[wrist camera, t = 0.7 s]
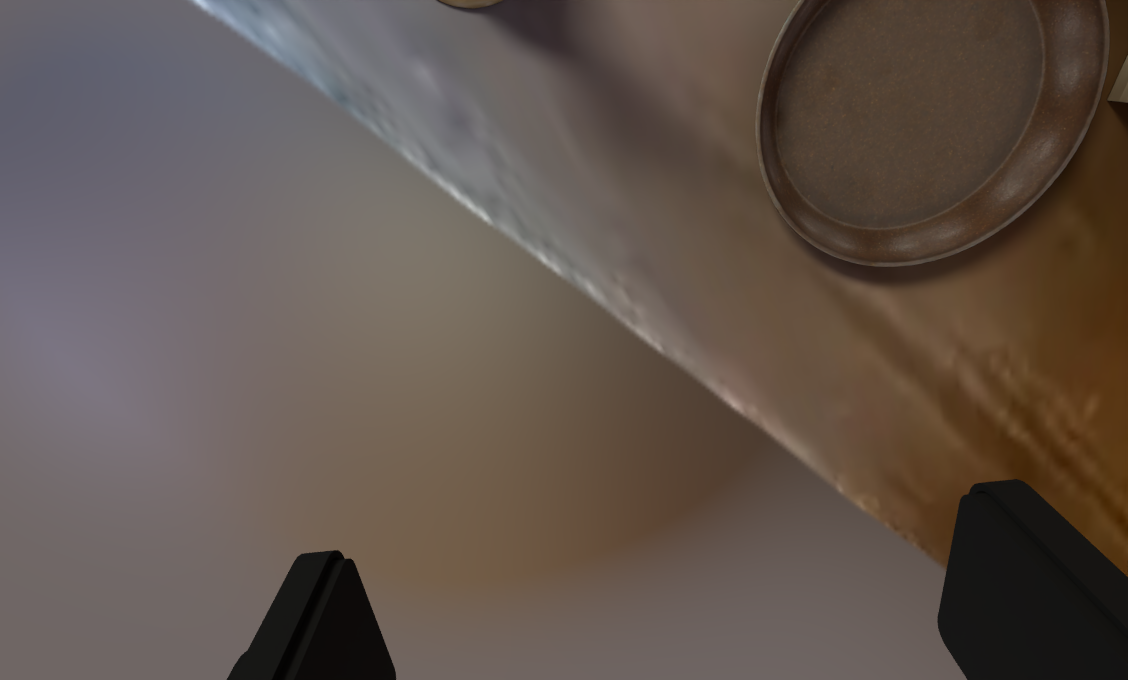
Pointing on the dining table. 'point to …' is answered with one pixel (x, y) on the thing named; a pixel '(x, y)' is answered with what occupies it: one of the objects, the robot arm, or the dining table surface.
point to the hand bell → (470, 3)
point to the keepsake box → (1120, 85)
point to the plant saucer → (923, 118)
